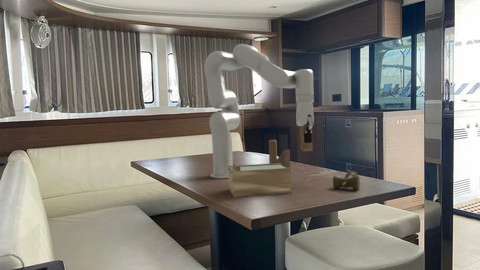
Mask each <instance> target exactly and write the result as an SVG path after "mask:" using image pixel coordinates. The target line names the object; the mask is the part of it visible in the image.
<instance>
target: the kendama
mask: <svg viewBox="0 0 480 270" xmlns="http://www.w3.org/2000/svg"><path fill="white" fill-rule="evenodd" d="M332 185H333V189H334V190H337V189H340V188H344V187H345V188H346V187H348V188H352V189H353V190H355V191H359V190H360V185H361V182H360V176H359V174H358V172H355V171H348V172H347V173H346V175H345V176H344V177H343V176H339V175H337V174H335V175H334V176H333V179H332Z"/></svg>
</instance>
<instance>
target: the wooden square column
mask: <svg viewBox="0 0 480 270" xmlns="http://www.w3.org/2000/svg"><path fill="white" fill-rule="evenodd" d="M306 126H308V124H306ZM306 129H307V127H306ZM304 133H305V130H304V126H299V138H300V139H299V141H300V142H299V143H300V144H299V145H300V151H302V152H312V151H313V150H314V149H313V141H312V142H311V143H304Z"/></svg>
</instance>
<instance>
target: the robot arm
mask: <svg viewBox="0 0 480 270" xmlns="http://www.w3.org/2000/svg"><path fill="white" fill-rule="evenodd" d="M245 67H246V68H248V69H250V70H251V71H253V72H255V73H256V74H257V75H259V77H260V78H261V79H263V80H265V81H266V82H268V83H269V84H271V85H273V86H275V87H277V88H279V89H295V103H296V108H295V109H296V113H295V115H296V117H295V119H296V120H295V121H296V123H295V124H296V126H297V127H298V126H299V127H300V126H304V130H305V133H304V143H311V142H313V126H314V124H315V116H314V104H313V103H315V98H314V97H315V95H314V94H315V91H314V87H315V86H314V72H313V70H312V69H308V68H307V69H306V68H303V69H302V68H301V69H297V70H296V71H291V70H286V69H283V68H280V67H279V66H277V65H275V64H274V63H272V62H271V61H270V59H269V57H268V56H267V55H266V54H264V53H262V52H259V51H258V49H257V48H256V47H255V46H253V45H250V44H249V45H248V44H246V43H238V44H237V45H235V47H234V48H233V50H232V52H227V51H222V50H214V51H212V52H211V53H210V54H208V56H207V57H206V59H205V60H204V68H203V69H204V75H205V78H206V86H207V93H208V98H209V99H208V100H209V103H210V106H211V107H212V108H214V109H215V110H217V109H218V110H220V111H216V112H214V113H212V115H211V116H210V118H209V128H210V131H211V132H210V133H211V144H212V165H213V167H212V168H213V169H212V170H213V173H211V174H210V178H212V179H229V176H228V166H233V163H234V162H233V158H234V157H233V139H232V134H231V133H230V131H234V130H236V129H237V128H238V127H239V125H240V122H241V121H240V120H241V116H240V110H239V102H238V98H237V95H236V94H235V92H234V91H232V90H231V89H227V88H226V82H225V78H224V75H223V74H222V70H223V71H230V72H232V71H237V70H239V69H242V68H245ZM306 124H308V126H306ZM306 127H307V129H306Z"/></svg>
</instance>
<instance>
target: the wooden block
mask: <svg viewBox="0 0 480 270" xmlns="http://www.w3.org/2000/svg"><path fill="white" fill-rule="evenodd" d="M277 143H278V142H277V140H276V139H270V140H268V157H269V163H268V164H271V163H281V165H282V166H284V167H285V168H290V169H291V150H290V149H285V150H283V151H282V152H281V153H280V155H279V156H278V144H277Z"/></svg>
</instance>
